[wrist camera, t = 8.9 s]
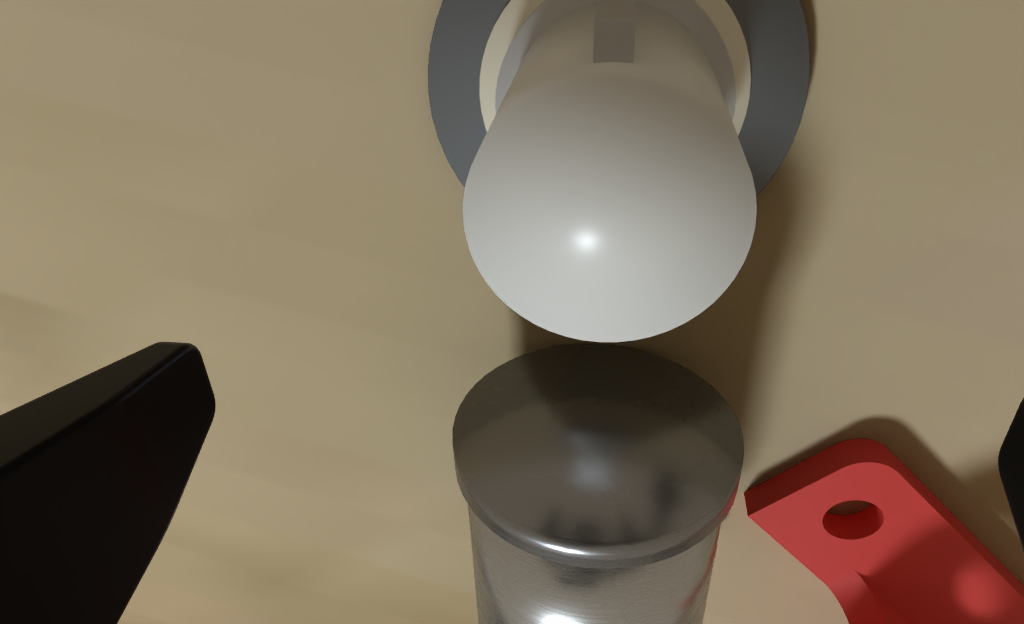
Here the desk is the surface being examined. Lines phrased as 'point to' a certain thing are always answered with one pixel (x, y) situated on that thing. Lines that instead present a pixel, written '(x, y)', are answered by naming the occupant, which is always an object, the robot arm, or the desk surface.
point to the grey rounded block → (595, 487)
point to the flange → (729, 3)
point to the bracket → (884, 541)
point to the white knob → (612, 171)
